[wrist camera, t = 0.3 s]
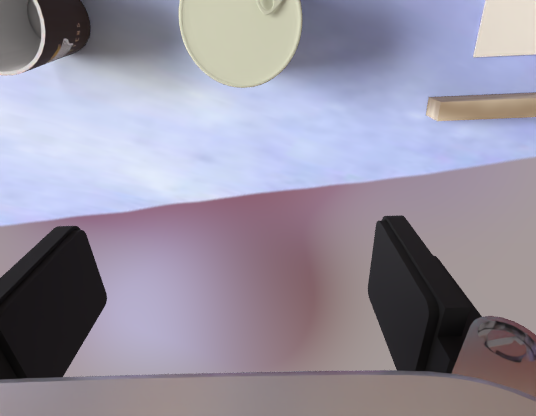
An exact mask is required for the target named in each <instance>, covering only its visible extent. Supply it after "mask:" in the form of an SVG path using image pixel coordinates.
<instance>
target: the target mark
mask: <svg viewBox="0 0 536 416" xmlns="http://www.w3.org/2000/svg"><path fill="white" fill-rule="evenodd" d="M534 54H536V0H485V5H484V9H483V14H482V18H481V23H480V27H479V32H478V36H477V41H476V45H475V50H474V54H473V57H490V56H512V55H534Z"/></svg>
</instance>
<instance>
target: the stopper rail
mask: <svg viewBox="0 0 536 416" xmlns="http://www.w3.org/2000/svg"><path fill="white" fill-rule="evenodd" d="M426 115H427V116H429V117H431V118H432V119H434V120H436V121H450V120H474V119H498V118H522V117H536V93H514V94H491V95H467V96H444V97H429V99H428V105H427V111H426Z"/></svg>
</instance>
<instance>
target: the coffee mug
mask: <svg viewBox="0 0 536 416" xmlns="http://www.w3.org/2000/svg"><path fill="white" fill-rule="evenodd" d="M89 35H90V21H89V17H88V14H87V11H86V9H85V7H84V5H83V4H82V2H81V1H80V0H0V75H16V74H20V73H23V72H26V71H28V70H31V69H33V68H36V67H39V66H41V65H44V64H46V63H49V62H51V61H54V60H57V59H59V58H62V57H64V56H67V55H69V54H72V53H75V52H77V51H79V50H80V49H82V48H83V47H84V46H85V44H86V43H87V41H88V38H89Z"/></svg>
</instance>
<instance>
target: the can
mask: <svg viewBox="0 0 536 416" xmlns="http://www.w3.org/2000/svg"><path fill="white" fill-rule="evenodd" d="M179 25H180V31H181V35H182V39H183V42H184V44H185V47H186V49H187V51H188V53H189V55H190V56H191V58H192V59H193V61H194V62H195V63H196V65H197V66H198V67H199V68H200V69H201V70H202V71H203V72H204V73H205V74H207V75H208V76H209V77H211V78H212V79H214V80H216V81H218V82H220V83H222V84H225V85H228V86H232V87H239V88H246V87H254V86H258V85H261V84H264V83H266V82H268V81H270V80H271V79H273V78H274V77H276V76H277V75H278V74H279V73H281V72H282V71H283V70H284V69H285V67H286V66H287V65H288V64H289V62H290V61H291V59H292V57H293V56H294V54H295V52H296V49H297V47H298V44H299V41H300V37H301V31H302V8H301V2H300V0H180V3H179Z"/></svg>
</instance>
